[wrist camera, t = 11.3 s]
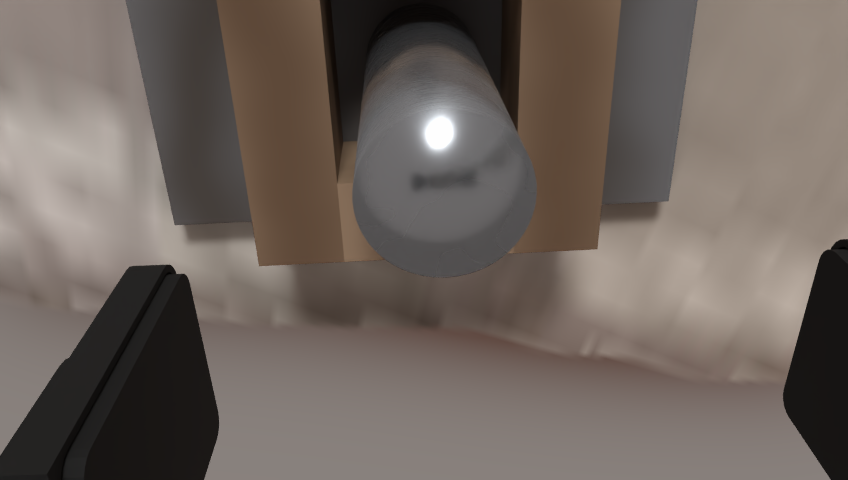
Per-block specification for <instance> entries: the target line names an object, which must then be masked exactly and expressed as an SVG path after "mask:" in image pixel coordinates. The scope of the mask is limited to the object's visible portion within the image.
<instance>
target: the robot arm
mask: <svg viewBox="0 0 848 480" xmlns="http://www.w3.org/2000/svg"><path fill="white" fill-rule="evenodd" d="M783 401H784V407H785V409H786V413H787V414H788V416H789V418H790V419H791V421H792V422H793V424H794V425H795V427H796V428H797V430H798V431H799V433H800V434H801V436H802V437H803V439H804V440H805V442H806V443H807V445H808V446H809V448H810V449H811V451H812V452H813V454H814V455H815V456H816V458H817V460H818V461H819V463H820V464H821V466H822V467H823V469H824V470H825V472H826V473H827V474H828V476H829V477H830V479H831V480H848V239H843V240H839V241H837V242H836V243H835V244H834V245H833V246H832V248H831V250H826V251H824V252H823V254H822V255H821V257H820V259H819V263H818V266H817V270H816V274H815V277H814V281H813V285H812V288H811V292H810V296H809V299H808V303H807V307H806V310H805V314H804V318H803V321H802V325H801V329H800V332H799V336H798V340H797V343H796V347H795V351H794V354H793V358H792V362H791V365H790V369H789V373H788V376H787V380H786V384H785V387H784V392H783ZM218 430H219V416H218V409H217V405H216V400H215V396H214V391H213V386H212V382H211V377H210V373H209V368H208V364H207V359H206V355H205V351H204V346H203V341H202V337H201V333H200V328H199V323H198V319H197V314H196V310H195V305H194V301H193V296H192V291H191V287H190V283H189V280H188V277H187V276H186V275H185V274H176V271H175V270H174V268H173V267H172V266H171V265H149V266H131V267H129V268H128V269H127V270H126V272H125V273H124V275H123V276H122V278H121V279H120V281H119V282H118V284H117V285H116V287H115V288H114V290H113V292H112V293H111V295H110V296H109V298H108V299H107V301H106V302H105V304H104V305H103V307H102V308H101V310H100V311H99V313H98V314H97V316H96V318H95V319H94V321H93V322H92V324H91V325H90V327H89V328H88V330H87V331H86V333H85V335H84V336H83V338H82V339H81V341H80V342H79V343H78V345H77V347H76V348H75V350H74V351H73V353H72V354H71V356H70V357H69V358H68V359H66V360H65V361H64V362H63V363H62V364H61V365H60V366H59V368H58V369H57V371H56V372H55V374H54V375H53V377H52V378H51V380H50V381H49V383H48V384H47V386H46V388H45V389H44V390H43V392H42V394H41V395H40V396H39V398H38V400H37V401H36V402H35V404H34V406H33V407H32V408H31V410H30V412H29V413H28V415H27V416H26V418H25V419H24V421H23V422H22V424H21V425H20V427H19V428H18V430H17V431H16V433H15V434H14V436H13V437H12V439H11V440H10V442H9V443H8V445H7V446H6V448H5V449H4V451H3V453H2V454H1V455H0V480H204V478H205V474H206V472H207V468H208V465H209V462H210V459H211V456H212V453H213V449H214V446H215V443H216V440H217V436H218Z"/></svg>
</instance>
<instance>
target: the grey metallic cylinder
mask: <svg viewBox="0 0 848 480" xmlns="http://www.w3.org/2000/svg"><path fill="white" fill-rule="evenodd" d="M536 196H537V183H536V177H535V171H534V168H533V165H532V162H531V160H530V158H529V156H528V153H527V151H526V149H525V147H524V145H523V143H522V141H521V139H520V137H519V134H518V132H517V130H516V128H515V126H514V124H513V122H512V120H511V118H510V116H509V113H508V111H507V109H506V107H505V105H504V103H503V101H502V99H501V97H500V94H499V92H498V90H497V88H496V86H495V84H494V82H493V80H492V78H491V76H490V73H489V71H488V69H487V67H486V65H485V63H484V61H483V59H482V57H481V55H480V52H479V50H478V48H477V46H476V44H475V42H474V40H473V38H472V36H471V34H470V32H469V30H468V28H467V27H466V25H465V24H464V23H463V22H462V21H461V19H460V18H458V17H457V16H456V15H455V14H453V13H452V12H450V11H449V10H447V9H445V8H443V7H440V6H437V5H433V4H425V3H418V4H411V5H407V6H404V7H401V8H399V9H397V10H395V11H393V12H391V13H390V14H389V15H387V16H386V17H385V18H384V19H383V20H382V21H381V22H380V23H379V24H378V26H377V27H376V28H375V30H374V32H373V34H372V36H371V38H370V41H369V44H368V48H367V55H366V65H365V74H364V84H363V93H362V103H361V113H360V122H359V132H358V141H357V151H356V161H355V170H354V180H353V189H352V203H353V209H354V214H355V218H356V221H357V224H358V226H359V228H360V230H361V232H362V234H363V236H364V237H365V239H366V240H367V242H368V243H369V244H370V246H371V247H372V248H373V249H374V250H375V251H376V252H377V253H378V254H379V255H380V256H381V257H383V258H384V259H385V260H387V261H388V262H390V263H391V264H393V265H395V266H397V267H399V268H401V269H403V270H405V271H408V272H411V273H414V274H418V275H422V276H429V277H454V276H460V275H465V274H469V273H472V272H475V271H478V270H481V269H483V268H485V267H487V266H489V265H491V264H492V263H494V262H496V261H497V260H499V259H500V258H501V257H503V256H504V255H505V254H507V253H508V252H509V251H510V250H511V249H512V248H513V247H514V246H515V245H516V244H517V242H518V241H519V240H520V238H521V237H522V236H523V234H524V232H525V231H526V229H527V227H528V225H529V223H530V221H531V218H532V216H533V212H534V209H535V205H536Z"/></svg>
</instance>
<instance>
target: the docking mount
mask: <svg viewBox="0 0 848 480" xmlns="http://www.w3.org/2000/svg"><path fill="white" fill-rule="evenodd" d="M418 3H425V4H433V5H437V6H440V7H443V8H445V9H447V10H449V11H450V12H452V13H453V14H455V15H456V16H457V17H458V18H460V19H461V21H462V22H463V23H464V24H465V25H466V27H467V28H468V30H469V32H470V34H471V36H472V38H473V40H474V42H475V44H476V46H477V48H478V50H479V52H480V55H481V57H482V59H483V61H484V63H485V65H486V67H487V69H488V71H489V73H490V76H491V78H492V80H493V82H494V84H495V86H496V88H497V90H498V92H499V94H500V97H501V99H502V101H503V103H504V105H505V107H506V109H507V111H508V113H509V116H510V118H511V120H512V122H513V124H514V126H515V128H516V130H517V132H518V134H519V137H520V139H521V141H522V143H523V145H524V147H525V149H526V151H527V153H528V156H529V158H530V160H531V162H532V165H533V168H534V171H535V177H536V183H537V196H536V205H535V209H534V212H533V216H532V218H531V221H530V223H529V225H528V227H527V229H526V231H525V232H524V234H523V236H522V237H521V238H520V240H519V241H518V242H517V244H516V245H515V246H514V247H513V248H512V249H511V250H510V251H509V252H508V253H507V254H510V253H530V252H550V251H569V250H589V249H597V247H598V237H599V226H600V216H601V205H602V204H620V203H641V202H662V201H669V194H670V187H671V180H672V173H673V166H674V159H675V152H676V145H677V138H678V132H679V125H680V118H681V111H682V104H683V97H684V90H685V83H686V76H687V69H688V62H689V56H690V49H691V42H692V35H693V28H694V21H695V14H696V7H697V0H126V4H127V8H128V13H129V18H130V22H131V27H132V31H133V36H134V40H135V45H136V50H137V54H138V59H139V63H140V68H141V73H142V77H143V82H144V86H145V91H146V95H147V100H148V105H149V109H150V114H151V118H152V123H153V127H154V132H155V137H156V141H157V146H158V150H159V155H160V159H161V164H162V169H163V173H164V178H165V182H166V187H167V192H168V196H169V201H170V205H171V210H172V214H173V219H174V224H175V225H188V224H208V223H229V222H250V221H252V225H253V231H254V237H255V243H256V249H257V256H258V262H259V266H271V265H291V264H311V263H331V262H351V261H371V260H385V259H384V258H383V257H381V256H380V255H379V254H378V253H377V252H376V251H375V250H374V249H373V248H372V247H371V246H370V244H369V243H368V242H367V240H366V239H365V237H364V236H363V234H362V232H361V230H360V228H359V226H358V224H357V221H356V218H355V214H354V209H353V203H352V189H353V180H354V170H355V161H356V151H357V141H358V132H359V122H360V113H361V103H362V93H363V84H364V74H365V65H366V55H367V48H368V44H369V41H370V38H371V36H372V34H373V32H374V30H375V28H376V27H377V26H378V24H379V23H380V22H381V21H382V20H383V19H384V18H385V17H386V16H387V15H389V14H390V13H391V12H393V11H395V10H397V9H399V8H401V7H404V6H407V5H411V4H418Z"/></svg>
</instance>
